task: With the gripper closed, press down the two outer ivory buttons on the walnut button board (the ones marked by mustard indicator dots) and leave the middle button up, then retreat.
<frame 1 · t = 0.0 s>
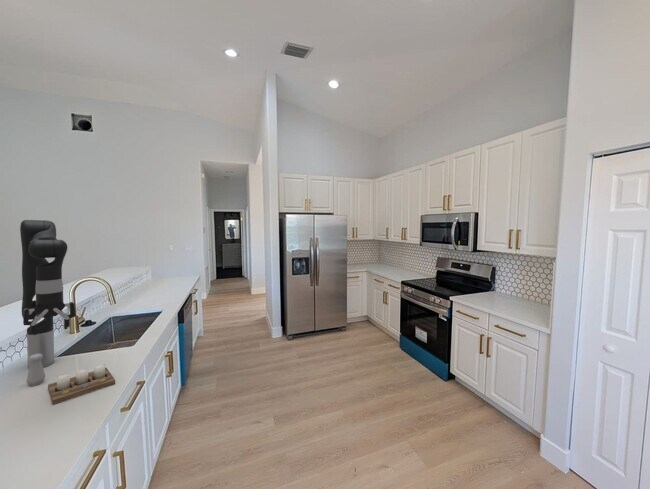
hand: (50, 331, 107), 29 cm above the countertop, fingers open, 8 cm apart
salt shaker: (36, 383, 121), on the countertop
board: (82, 386, 120), on the countertop
button c: (99, 371, 124), point 5 cm above the countertop, slide at 0.0 cm
button a: (63, 381, 115), point 5 cm above the countertop, slide at 0.0 cm
button b: (82, 376, 120), point 5 cm above the countertop, slide at 0.0 cm
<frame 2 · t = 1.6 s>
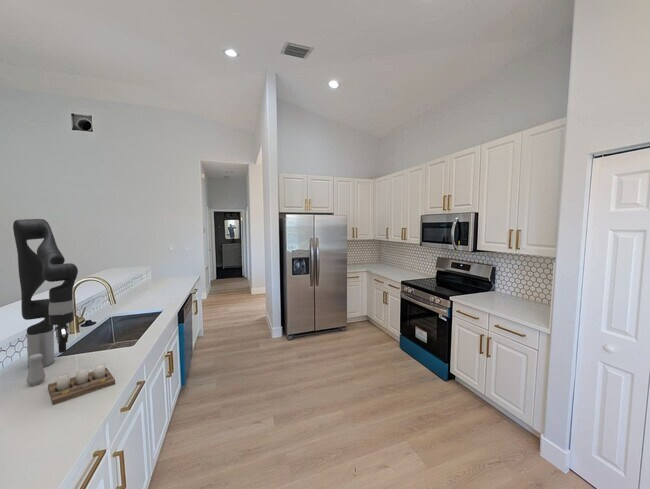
hand: (62, 351, 114), 18 cm above the countertop, fingers closed
nothing on the countertop moved.
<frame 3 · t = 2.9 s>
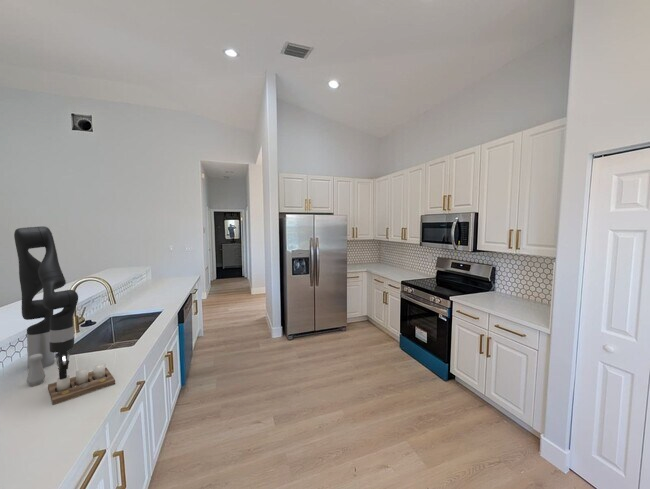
hand: (63, 378, 115), 6 cm above the countertop, fingers closed
button a: (63, 383, 115), point 4 cm above the countertop, slide at 0.8 cm, touching gripper
everything else where it was.
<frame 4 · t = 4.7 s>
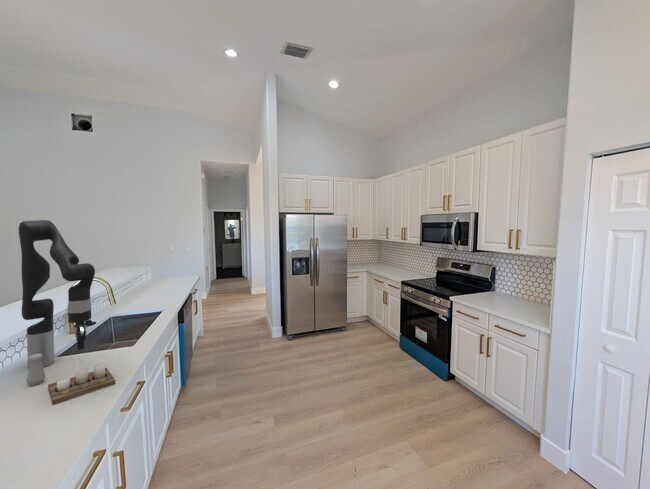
hand: (80, 348, 118), 17 cm above the countertop, fingers closed
button a: (63, 386, 115), point 3 cm above the countertop, slide at 1.9 cm
everything else where it was.
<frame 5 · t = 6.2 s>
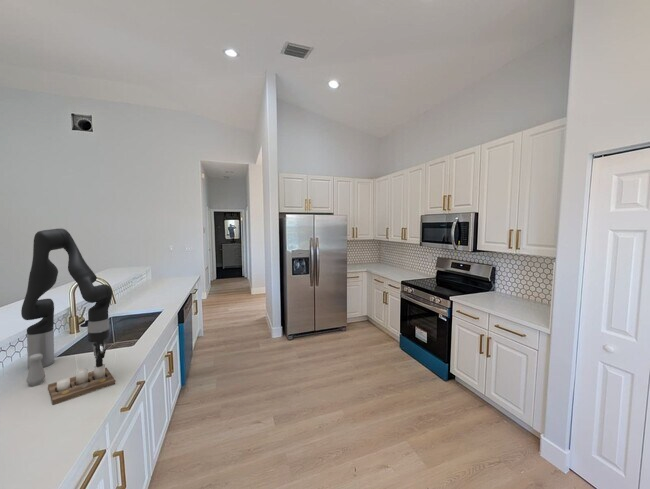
hand: (99, 366, 124), 7 cm above the countertop, fingers closed
button c: (99, 371, 124), point 4 cm above the countertop, slide at 0.2 cm, touching gripper
everything else where it was.
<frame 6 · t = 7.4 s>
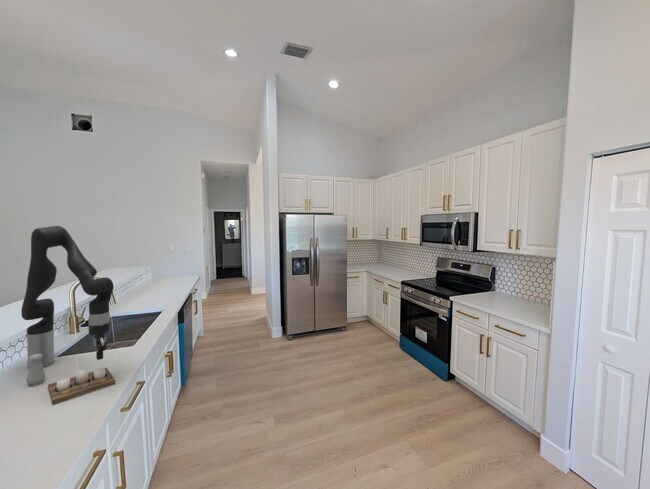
hand: (99, 358, 124), 10 cm above the countertop, fingers closed
button c: (99, 375, 124), point 3 cm above the countertop, slide at 1.9 cm
everything else where it was.
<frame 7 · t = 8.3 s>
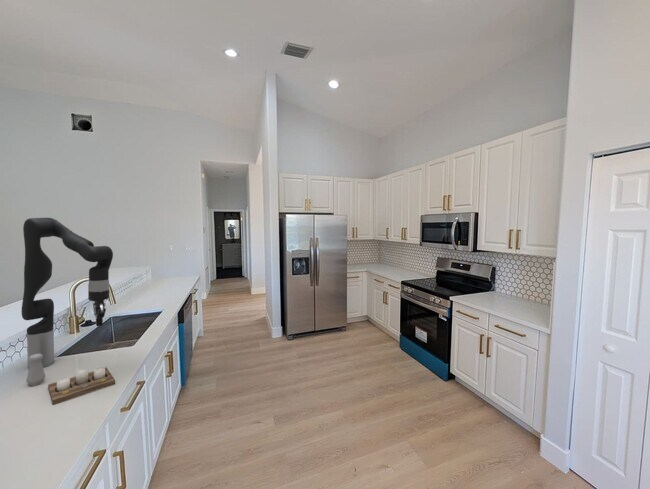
hand: (99, 325, 127), 25 cm above the countertop, fingers closed
nothing on the countertop moved.
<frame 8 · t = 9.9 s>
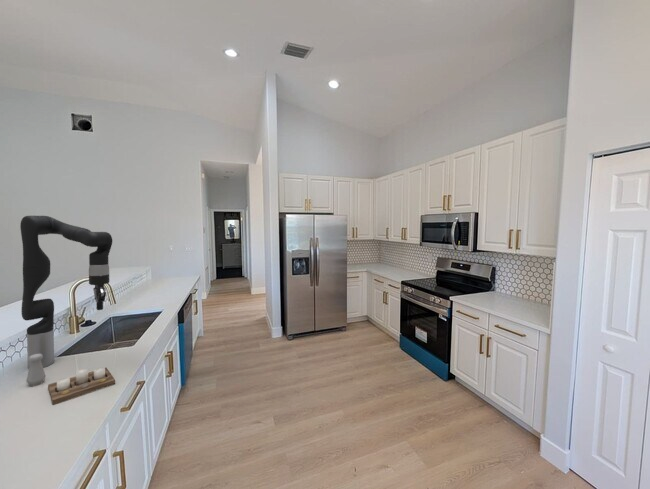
hand: (99, 309, 130), 31 cm above the countertop, fingers closed
nothing on the countertop moved.
at the end: button a slide at 1.9 cm; button c slide at 1.9 cm; button b slide at 0.0 cm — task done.
